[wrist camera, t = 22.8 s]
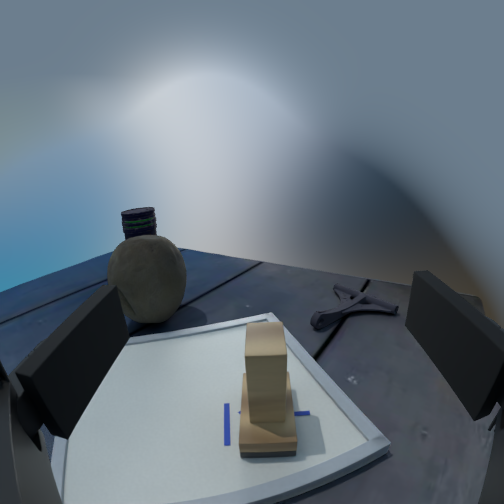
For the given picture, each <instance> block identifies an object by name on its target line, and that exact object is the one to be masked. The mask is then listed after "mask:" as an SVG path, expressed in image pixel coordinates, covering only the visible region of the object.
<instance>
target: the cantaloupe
mask: <svg viewBox="0 0 504 504" xmlns="http://www.w3.org/2000/svg"><path fill="white" fill-rule="evenodd" d="M107 276H108V285H117V289H118V293H119V297H120V302H121V306H122V310H123V313H124V314H125V315H126V316H127V317H129V318H130V319H132V320H134V321H136V322H139V323H161V322H164V321H166V320H167V319H169V318H170V317H171V316H172V315H173V314H174V313H175V312H176V310H177V309H178V307H179V306H180V304H181V302H182V299H183V296H184V292H185V287H186V267H185V263H184V260H183V257H182V255H181V253H180V251H179V250H178V248H177V247H176V246H175V245H174V244H173V243H172V242H171V241H170V240H168V239H166V238H165V237H161V236H156V235H142V236H136V237H132V238H129V239H127V240H125V241H123V242H122V243H120V244H119V245H118V246H117V247H116V249H115V250H114V252H113V253H112V256H111V258H110V260H109V264H108V272H107Z"/></svg>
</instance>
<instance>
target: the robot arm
mask: <svg viewBox="0 0 504 504" xmlns="http://www.w3.org/2000/svg"><path fill="white" fill-rule="evenodd" d="M405 326H406V327H407V329H408V330H409V331H410V332H411V334H412V335H413V336H414V338H415V339H416V340H417V341H418V343H419V344H420V345H421V347H422V348H423V349H424V351H425V352H426V353H427V355H428V356H429V357H430V359H431V360H432V361H433V363H434V364H435V366H436V367H437V368H438V370H439V371H440V372H441V374H442V375H443V377H444V378H445V379H446V381H447V382H448V384H449V385H450V386H451V388H452V389H453V391H454V392H455V394H456V395H457V396H458V398H459V399H460V401H461V402H462V404H463V405H464V407H465V408H466V410H467V411H468V413H469V414H470V416H471V417H472V419H473V420H474V421H476V420H478V419H481V418H483V417H485V416H487V415H489V414H490V413H491V411H492V409H493V407H494V406H495V404H496V402H498V403H499V405H500V406H501V408H500V410H499V411H498V413H497V415H496V416H495V418H494V420H493V421H492V423H491V425H490V426H489V429H488V430H489V431H491V429H492V428H493V426H494V425H495V424H496V427H495V430H494V432H495V434H494V440H493V446H492V451H491V456H490V461H489V465H488V470H487V474H486V478H485V482H484V485H483V489H482V492H481V496H480V499H479V502H478V504H504V329H501V327H500V326H499V325H498V324H497V323H496V322H495V321H493V320H492V319H489V318H488V317H486V316H484V315H483V314H482V313H481V312H479V311H478V310H477V309H476V308H475V307H473V306H472V305H471V304H470V303H469V302H467V301H466V300H465V299H464V298H462V297H461V296H460V295H459V294H458V293H456V292H455V291H454V290H452V289H451V288H450V287H449V286H447V285H446V284H445V283H443V282H442V281H441V280H440V279H438V278H437V277H436V276H434V275H433V274H432V273H430V272H429V271H428V270H426V271H415V272H414V274H413V281H412V288H411V295H410V301H409V306H408V312H407V317H406V322H405ZM129 338H130V336H129V333H128V329H127V325H126V322H125V318H124V314H123V310H122V306H121V302H120V297H119V293H118V289H117V285H102V286H101V287H100V288H99V289H98V290H97V291H96V292H95V293H93V294H92V295H91V296H90V297H89V298H88V299H87V300H86V301H85V302H84V303H83V304H82V305H81V306H80V307H78V308H77V309H76V310H75V311H74V312H73V313H72V314H71V315H70V316H69V317H68V318H67V319H66V320H65V321H64V322H63V323H62V324H61V325H60V326H59V327H58V328H57V329H56V330H55V331H54V332H53V333H52V334H51V335H50V336H49V337H48V338H46V339H45V340H43V341H41V342H40V343H39V344H38V345H37V346H36V347H35V348H34V349H33V351H31V352H30V353H29V354H28V357H25V358H24V359H23V361H22V362H21V363H20V364H19V365H18V366H17V367H16V368H15V369H14V370H13V371H12V372H11V373H10V374H9V376H8V375H7V373H6V371H5V369H4V367H3V365H2V363H1V361H0V504H63V503H62V500H61V497H60V494H59V491H58V488H57V485H56V482H55V479H54V475H53V472H52V468H51V464H50V460H49V456H48V452H47V448H46V444H45V439H44V435H43V433H42V432H41V430H40V428H41V426H42V425H43V423H44V424H45V426H46V427H47V429H48V430H49V432H50V433H51V434H52V435H55V436H58V437H61V438H64V439H67V440H68V439H69V437H70V435H71V434H72V432H73V430H74V428H75V427H76V425H77V423H78V421H79V420H80V418H81V416H82V414H83V413H84V411H85V409H86V408H87V406H88V404H89V403H90V401H91V399H92V398H93V396H94V394H95V393H96V391H97V389H98V388H99V386H100V384H101V383H102V381H103V379H104V378H105V376H106V375H107V373H108V371H109V370H110V368H111V367H112V365H113V363H114V362H115V360H116V359H117V357H118V356H119V354H120V352H121V351H122V349H123V348H124V346H125V345H126V343H127V342H128V340H129Z"/></svg>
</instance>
